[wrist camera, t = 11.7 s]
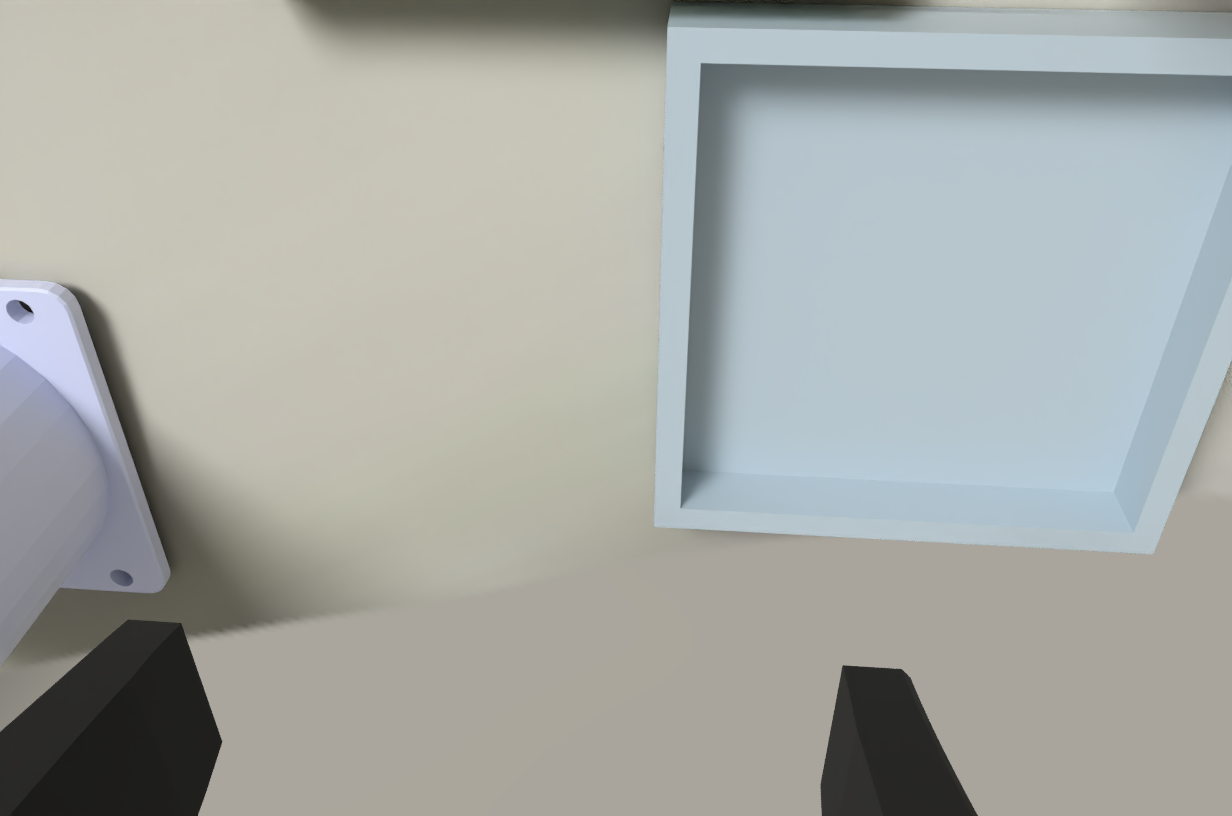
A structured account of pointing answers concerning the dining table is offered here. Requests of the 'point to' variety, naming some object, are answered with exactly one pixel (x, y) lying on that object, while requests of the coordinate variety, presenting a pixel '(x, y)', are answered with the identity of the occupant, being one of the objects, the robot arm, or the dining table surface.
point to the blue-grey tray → (941, 270)
